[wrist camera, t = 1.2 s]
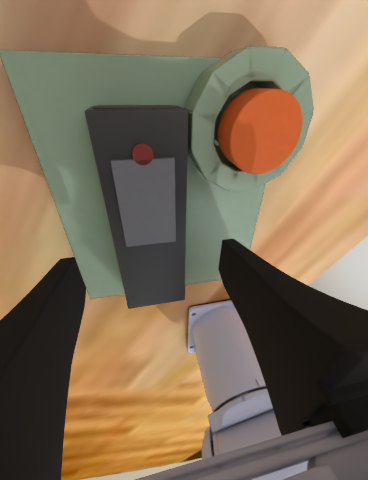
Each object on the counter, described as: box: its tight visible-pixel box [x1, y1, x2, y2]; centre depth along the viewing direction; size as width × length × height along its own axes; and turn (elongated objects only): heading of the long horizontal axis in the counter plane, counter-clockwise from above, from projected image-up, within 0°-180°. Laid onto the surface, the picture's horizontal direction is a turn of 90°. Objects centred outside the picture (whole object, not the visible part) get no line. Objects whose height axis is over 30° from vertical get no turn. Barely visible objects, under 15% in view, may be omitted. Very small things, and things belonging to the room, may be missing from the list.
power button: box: [218, 88, 303, 174], centre depth 11 cm, size 4×4×2 cm
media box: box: [0, 46, 313, 299], centre depth 15 cm, size 16×14×4 cm
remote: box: [85, 105, 188, 309], centre depth 14 cm, size 13×4×3 cm, turn 179°
